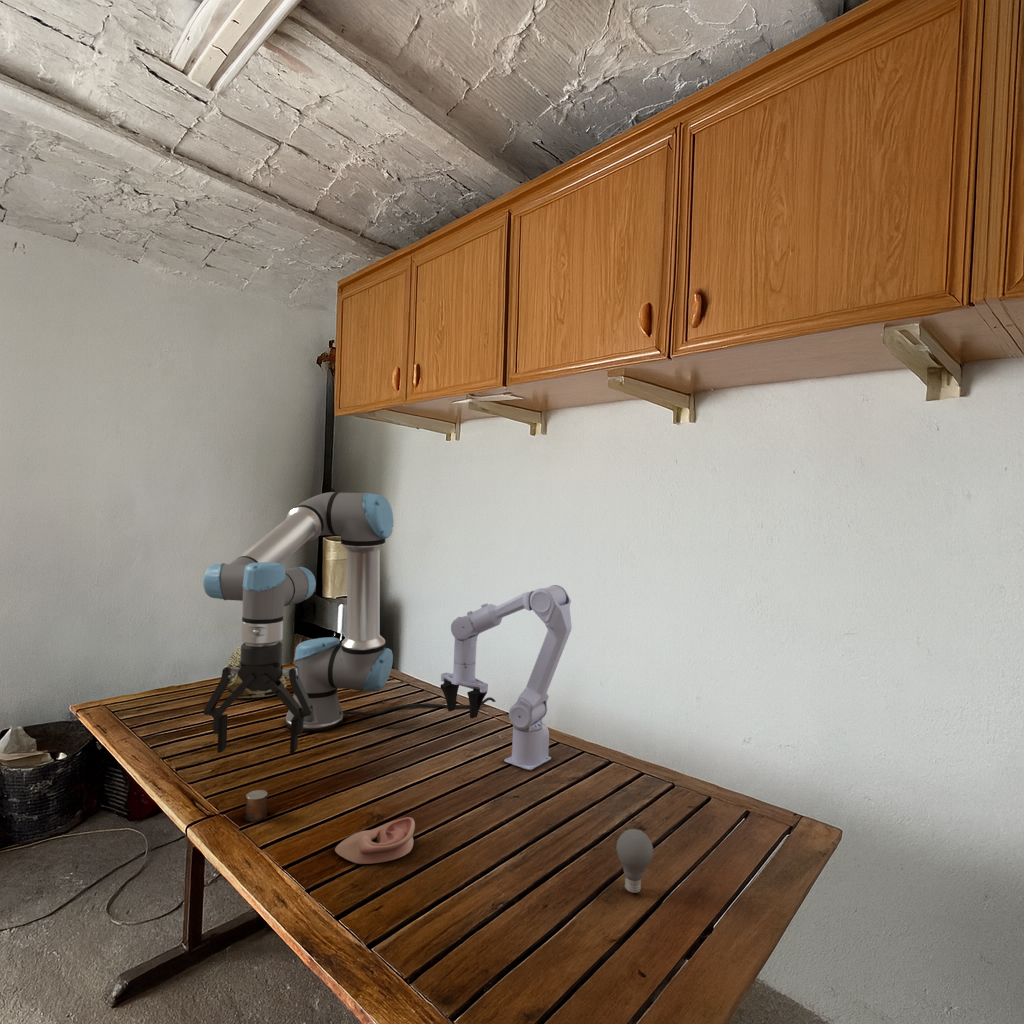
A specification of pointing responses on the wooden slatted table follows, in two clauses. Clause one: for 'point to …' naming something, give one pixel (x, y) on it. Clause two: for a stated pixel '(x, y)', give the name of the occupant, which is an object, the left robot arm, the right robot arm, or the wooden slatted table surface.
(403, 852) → the anatomical model
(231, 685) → the fossil
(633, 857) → the light bulb
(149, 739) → the wooden slatted table surface
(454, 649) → the right robot arm
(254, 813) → the tin
